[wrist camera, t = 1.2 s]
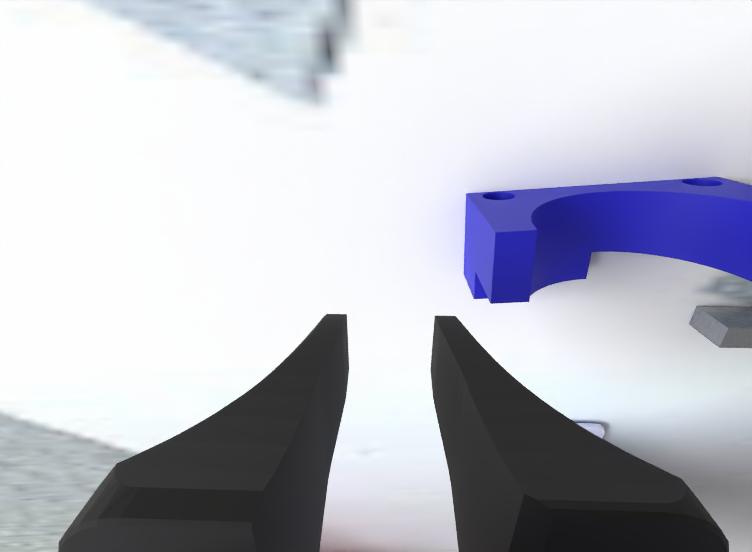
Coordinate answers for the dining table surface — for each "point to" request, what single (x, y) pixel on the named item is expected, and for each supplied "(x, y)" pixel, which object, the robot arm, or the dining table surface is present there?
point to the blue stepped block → (601, 231)
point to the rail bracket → (724, 325)
